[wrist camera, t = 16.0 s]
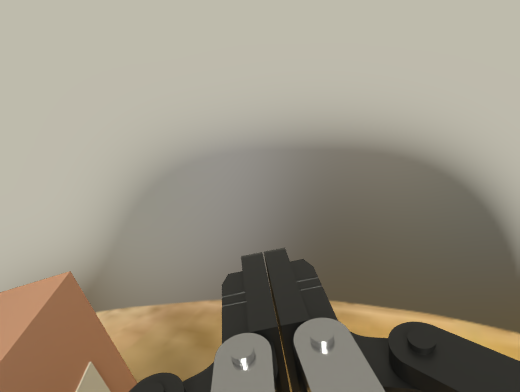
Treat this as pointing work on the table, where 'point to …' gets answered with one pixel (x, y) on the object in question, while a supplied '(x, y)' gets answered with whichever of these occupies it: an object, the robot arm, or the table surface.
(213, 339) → the table surface
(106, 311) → the table surface
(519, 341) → the table surface
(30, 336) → the card box
